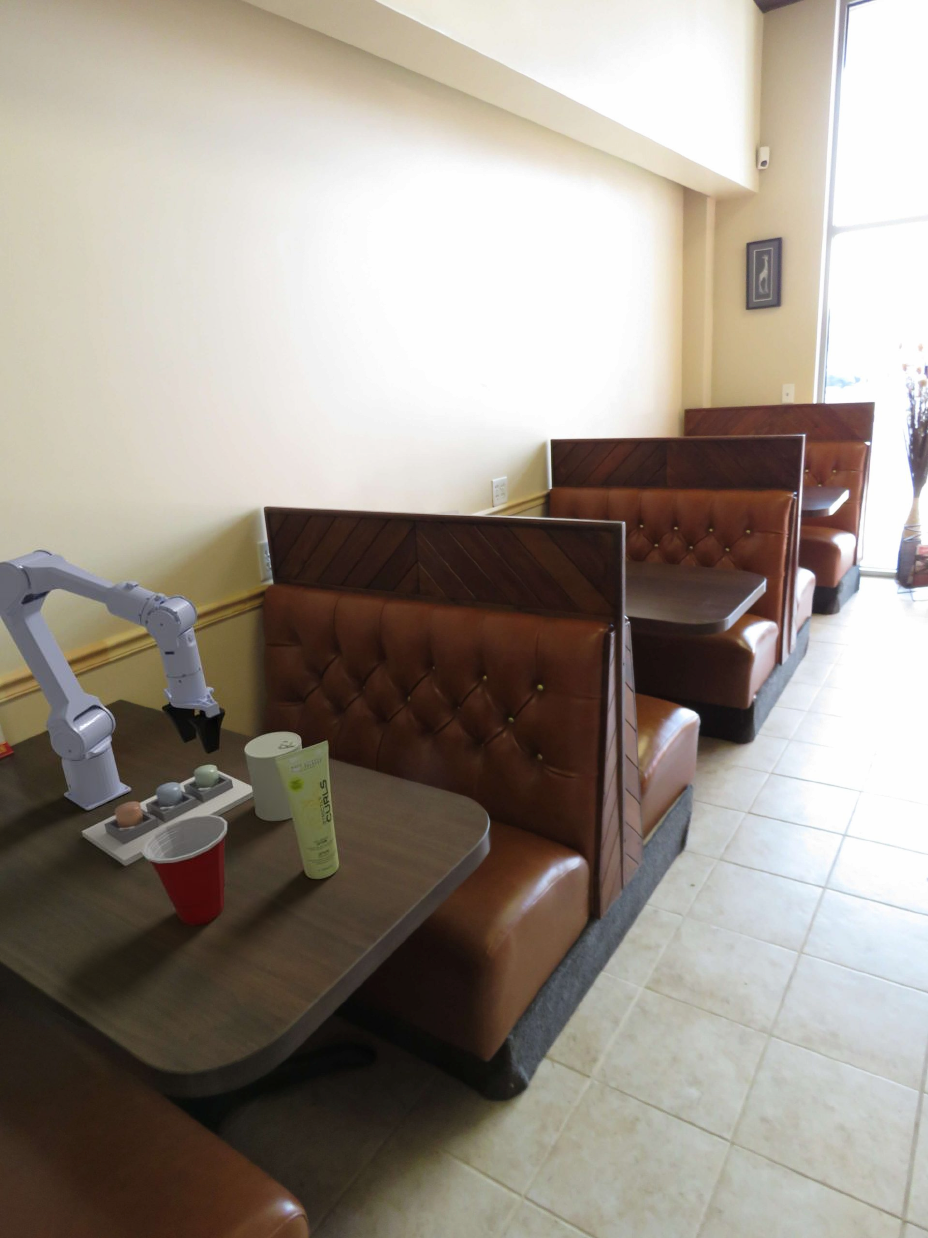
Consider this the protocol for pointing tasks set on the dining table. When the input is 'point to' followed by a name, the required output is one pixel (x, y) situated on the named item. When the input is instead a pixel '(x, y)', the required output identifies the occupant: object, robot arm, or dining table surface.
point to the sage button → (206, 776)
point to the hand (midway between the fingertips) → (201, 745)
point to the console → (167, 816)
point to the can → (270, 773)
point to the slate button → (169, 794)
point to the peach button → (128, 814)
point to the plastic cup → (191, 865)
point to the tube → (311, 807)
